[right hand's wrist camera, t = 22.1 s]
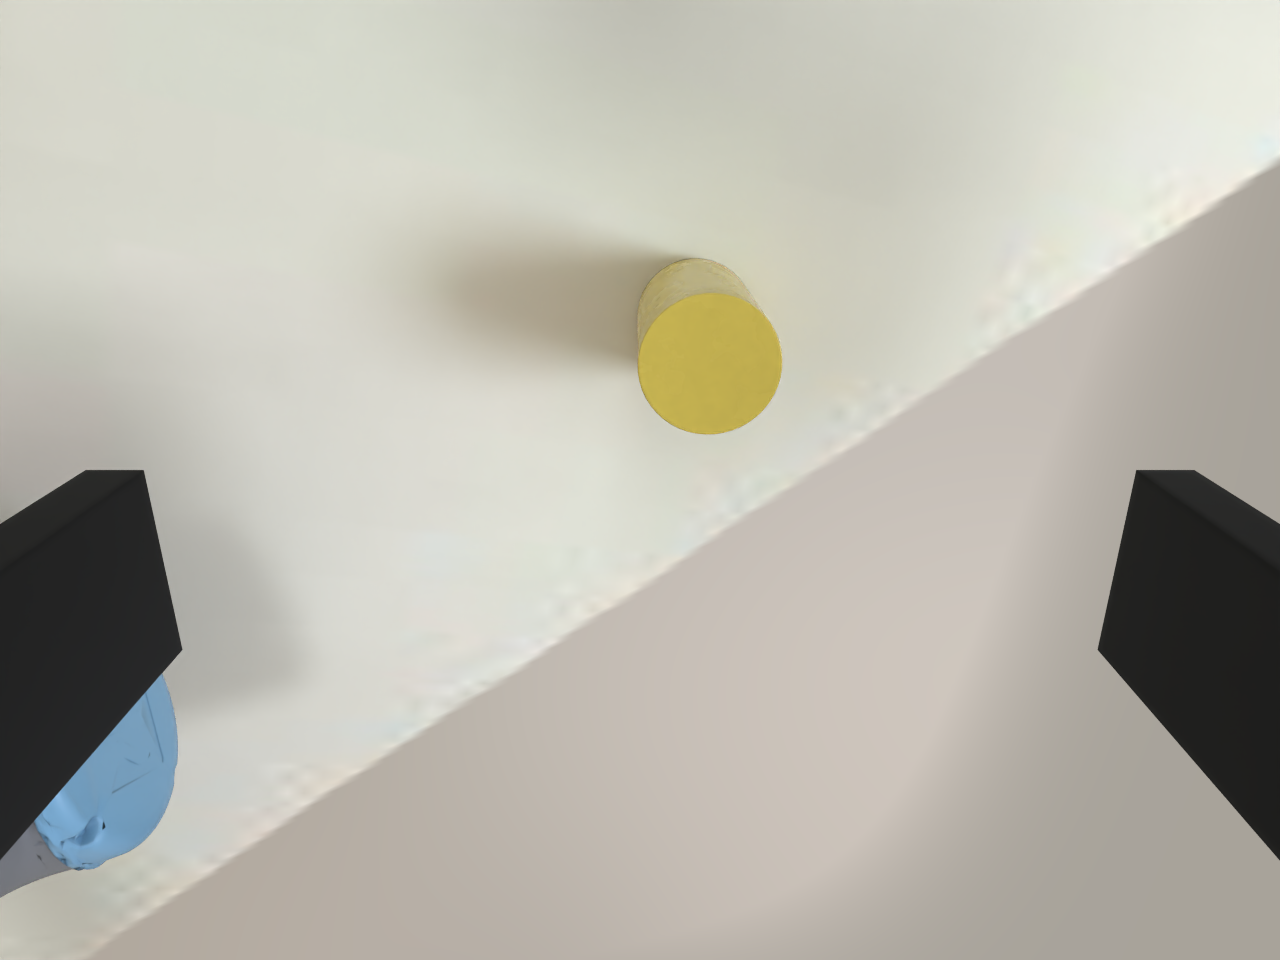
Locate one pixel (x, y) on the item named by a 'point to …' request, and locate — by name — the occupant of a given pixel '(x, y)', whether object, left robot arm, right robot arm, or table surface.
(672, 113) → the table surface
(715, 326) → the canister
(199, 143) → the table surface
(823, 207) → the table surface
